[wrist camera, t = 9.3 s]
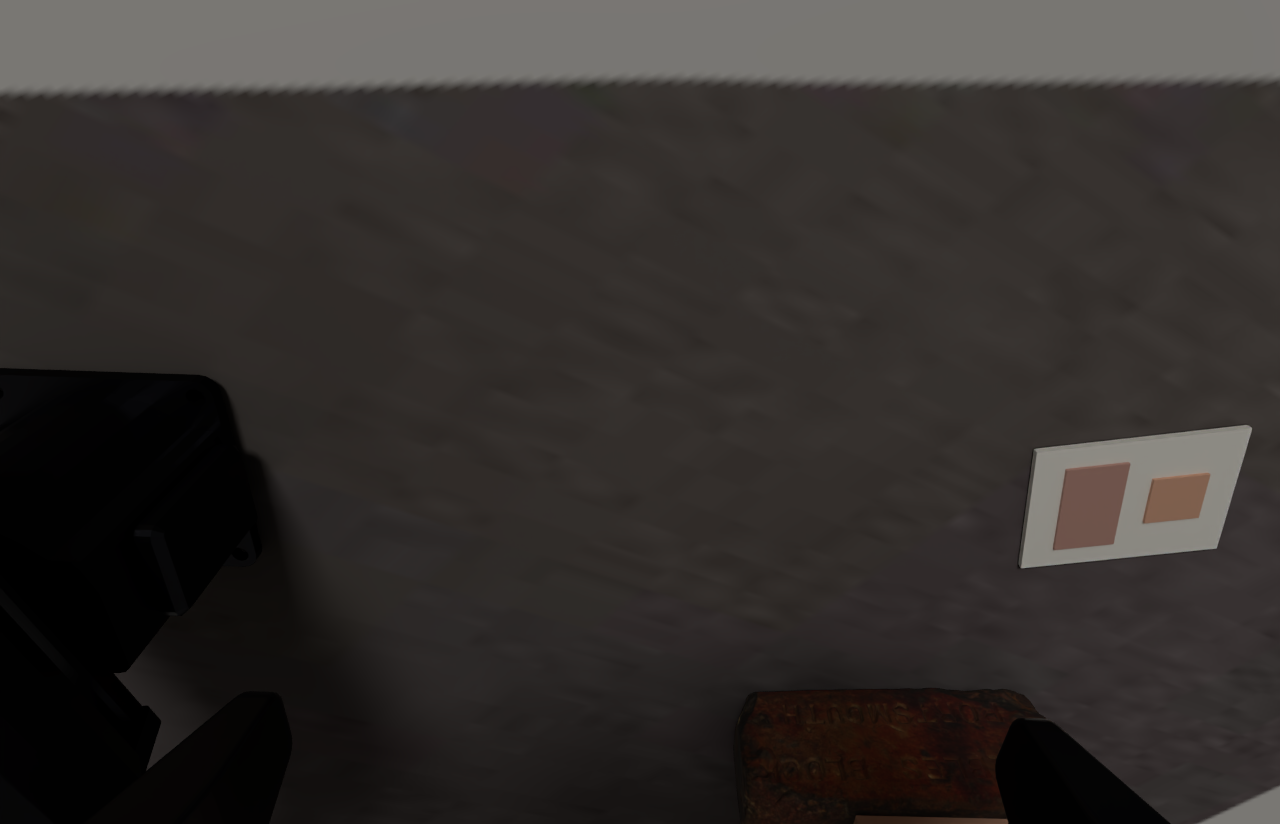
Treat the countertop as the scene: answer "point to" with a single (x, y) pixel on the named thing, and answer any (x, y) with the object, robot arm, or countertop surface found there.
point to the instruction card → (1130, 496)
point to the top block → (924, 820)
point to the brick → (872, 754)
